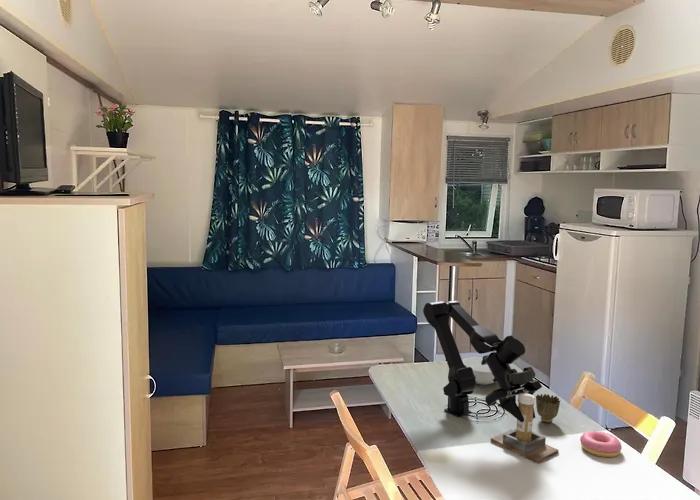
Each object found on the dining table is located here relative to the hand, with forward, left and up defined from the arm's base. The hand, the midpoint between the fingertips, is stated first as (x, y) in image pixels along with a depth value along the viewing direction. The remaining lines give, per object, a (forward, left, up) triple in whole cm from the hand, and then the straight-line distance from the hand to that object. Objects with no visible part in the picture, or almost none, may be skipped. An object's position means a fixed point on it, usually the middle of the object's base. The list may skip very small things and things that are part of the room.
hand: (528, 419), depth 155 cm
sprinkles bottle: (-1, 0, -7) cm, 7 cm away
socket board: (-1, 0, -9) cm, 9 cm away
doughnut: (+13, +17, -9) cm, 23 cm away
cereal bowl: (-43, +33, -9) cm, 55 cm away
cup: (-7, +21, -9) cm, 24 cm away
